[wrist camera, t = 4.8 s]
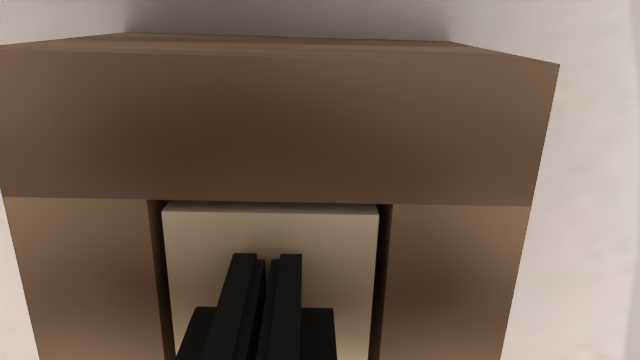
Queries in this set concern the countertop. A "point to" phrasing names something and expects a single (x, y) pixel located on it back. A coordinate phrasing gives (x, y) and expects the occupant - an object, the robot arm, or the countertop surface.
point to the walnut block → (268, 174)
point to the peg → (276, 257)
